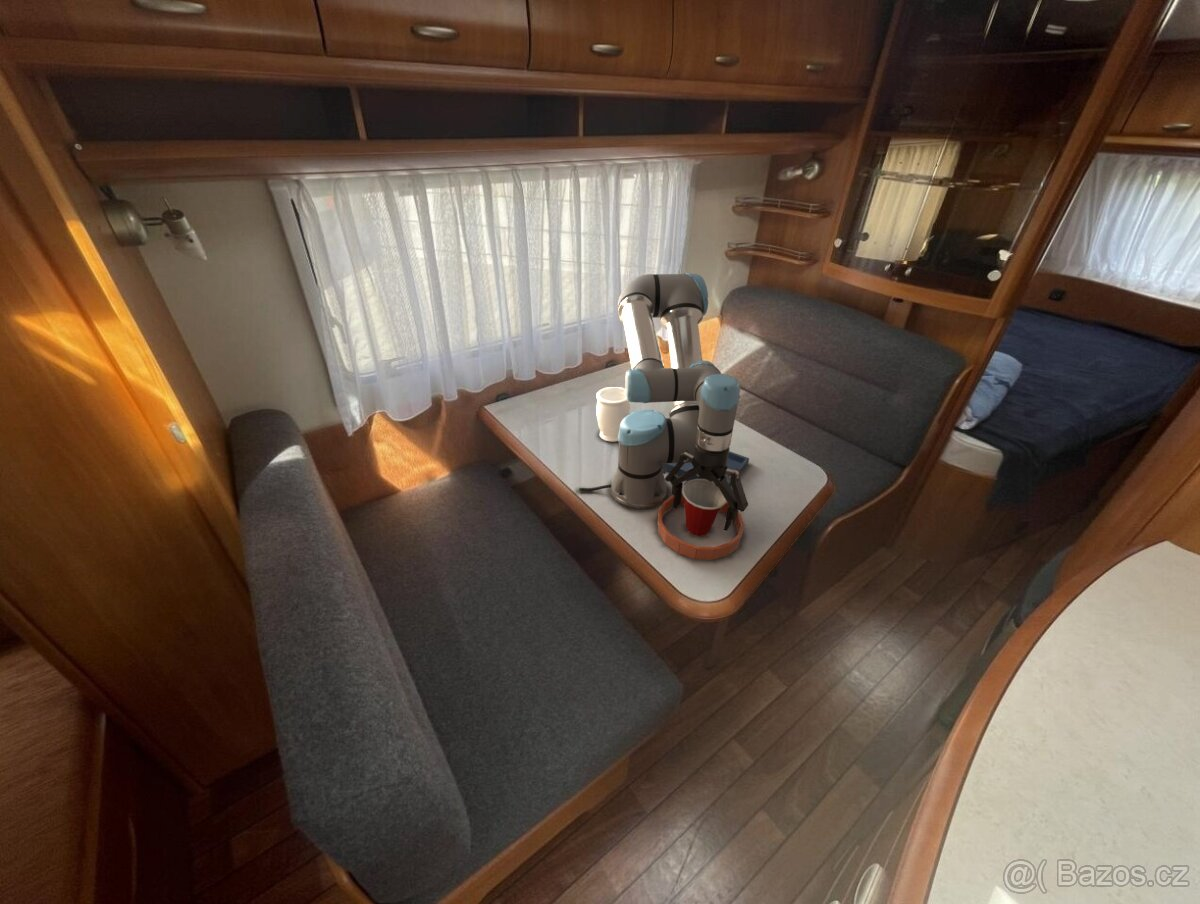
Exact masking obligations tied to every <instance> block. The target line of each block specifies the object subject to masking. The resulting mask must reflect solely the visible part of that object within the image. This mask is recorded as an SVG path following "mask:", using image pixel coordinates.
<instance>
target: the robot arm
mask: <svg viewBox="0 0 1200 904" xmlns="http://www.w3.org/2000/svg"><path fill="white" fill-rule="evenodd" d="M708 291H709V290H708V287H707V283H706V281H705V279H704V277H703V276H702V275H700V274H698V273H690V272H684V273H656V274H655V273H647V274H643V275H640V276H638V277H635V278H634V279H632V280H631V281H630V282H629V283H627V285H626V286H625V287H624V289H623V290H622V292H620V295H619V297H618V301H617V315H618V318H619V321H620V322H621V323H622V324H623V327H624V328H623V329H624V332H625V339H626V345H627V351H628V356H629V363H630V368H631V369H628V370H626V371H625V377H624V389H625V390H626V398H627V400H628V401H629V403H641V404H649V403H651V404H652V403H670V402H673V408H672V409H671V410H670V412H669V414H668V416H669V417H668V418H666V416H665V415H664V414H663V413H662V412H660V411H659V410H656V411H655V410H654V409H640V410H635V411H633V412H630V414H629V415H627V416H626V417H625V418H624V419H623V420H622V421H621V423H620V427H619V434H618V441H617V442H618V453H617V454H618V455H617V468H616V470H615V472H614V475H613V477H612V480H611V483H610V484H605V485H599V486H594V487H579V489H578V491H579V492H595V491H599V490H604V489H610V494H611V497H613V499H614V500H615V502H617V503H618V504H620V505H621V506H624V507H627V508H630V509H637V510H644V509H645V510H646V509H651V508H653V507H656V506H658V505H659V504H661V503H663V502H664V501H665V498H666V495H667V488H668V487H667V483H668V482H670V484H671V493H670V494H671V495H672V496H673V495H674V502H673V508H672V509H675V510H676V509H677V508H678V507H679V506H680V505H679V504H680V503H681V496H682V488H683V485H684V482H685V481H686V480H688V478H690V477H693V476H695V475H696V474H698V475H699V477H700V478H703V479H707V480H708V481H710V482H712V481H713V482H714V483H715V485H716V487H718V488H719V489H720V491H721V493H722V494H723V496H724V498H725V499H726V501H727V503H728V504H729V506H730V507H729V508H728V509H727V514H726V516H725V521H724V525H723V531H725V532H728V530H729V528H730V527H731V526H732V522H733V521H734V520H735V518H736V517H737V515H738V511H739V512H740V513H744V512H745V511H746V510H747V508H748V506H749V502H748V499H747V495H746V492H745V490H744V487H743V484H742V480H741V474H740V470H739V469H735V470H731V469H728V468H727V460H728V455H729V451H730V447H731V443H732V437H733V431H734V426H735V421H736V415H737V410H738V405H739V402H740V392H741V384H740V382H739V380H738V379H737V378H735V377H733V376H732V375H729V374H723V373H722V372H721V370H720V369H719V368H718V367H717V366H716V365H715V364H714V363H713V362H711V361H708V360H704V359H703V355H702V348H701V347H702V346H701V337H700V329H699V328H700V327H699V324H700V323H701V322H702V321H703V317H704V316H705V315H706V314H707V312H708V308H709V299H708V298H709V292H708ZM655 318H657V319H658V318H659V319H660V324H661V326H662V327H663V328H664V329H666V334H667V343H668V344H667V345H668V354H669V365H670V367H665V365H664V360H663V356H662V351H661V349H660V344H659V340H658V336H657V332H656V328H655V324H654V320H653V319H655ZM663 463H677V464H676V466H675V467H674V468H673V469H672V470H671V472H668V474H667V475H666V472H667V471H666V470H664V469H662V464H663ZM685 463H692V465H693V468H692V469H690V470H688V471H687V472H685V473H683V474H682V475H680V476H678V475H677V477H676V475H675V474H676V473H677V472H678V471H679V470H680V468H681V467H682V466H683V465H684V464H685ZM725 474H727V475H728V477H729V478H728V479H729V480H730V482H731V487H730V485H729V483H728V482H727V477H726V476H725ZM665 475H666V477H665ZM719 478H720V480H719ZM732 520H733V521H732Z"/></svg>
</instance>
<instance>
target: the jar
mask: <svg viewBox="0 0 1200 904" xmlns="http://www.w3.org/2000/svg"><path fill="white" fill-rule="evenodd" d="M595 397H596V400H597V402H596V409H595V410H596V412H595V413H596V419H597V426H598V429H599V437H600V438H601V439H602V440H603V441H606V442H612V443H614V442H619V441H618V434H619V427H620V423H621V421H622V420H623V419H624V418H625V417H626V416H627V415H629V414H630V413H631V406H630V402H629V401H628V400H627V398H626V390H625V387H621V386H620V387H619V386H608V387H603V388H601V389H599V390H598V391H597V392H596V396H595Z"/></svg>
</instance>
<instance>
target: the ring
mask: <svg viewBox="0 0 1200 904" xmlns="http://www.w3.org/2000/svg"><path fill="white" fill-rule="evenodd" d="M673 502H674V495H672V496H670V497H669V498H667V499H666V500H663V501H662V504H661V506H660V507H659V509H658V512H657V520H656V521H657V533H658V535H659V536H660V538H661V539H662V541H663V543H664V545H666V546H667V547H668V548H670V549H671V550H673V551H674V552H676V553H677V554H679V555H682V556H684V557H687V558H691V559H692V560H693V559H694V560H705V561H706V560H708V561H714V560H717V559H720V558H724V557H727V556H730V555H731V554H732V553H733V552H734V551H736V550H737V549H738V547H739V545H740V543H741V540H742V537H743V534H744V529H745V523H744V519H743V516H742V512H741V511H740V510H738V515H737V517H736V518H735V520H734V521H733V520H732V522H733V523H734V524H735V527H736V531H737V535H736V536H734V537H733V538H732V539H730V541H728V542H727V543H723V544H719V545H716V546H697V545H694V544H692V543H688V542H686V541H683V540H680V539H679V538H677V536H675V535H674V534H672V533H670V531H669V530H668V528H667V527H666V526H665V524H664V523H663V519H664V516H665V515H666V513H668V512H669V511H670V510H672V509H674V508H673ZM682 505H684V497H683V493H682V496H681V503H680V504H679V506H682ZM729 507H730V506H729V504H728V503H727V501H726V504H724V505H723V506H722V507H721V509H720V510H719V512H722V513H723V514H726V515H727V509H728V508H729Z"/></svg>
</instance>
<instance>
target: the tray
mask: <svg viewBox="0 0 1200 904" xmlns="http://www.w3.org/2000/svg"><path fill="white" fill-rule="evenodd" d="M749 461H750V458H749V457H747V456H745V455H741V454H738V453H736V452H733V451H730V450H729V455H728V460H727V468H728V469H731V470H735V469H739V470H740V475H741V474H742V473H743V472H744V471H745V469H746V468H747V467H748V466H749ZM676 464H677V463H663V464H662V469H664V470H666V471H665V472H668V473H670V472H671V470H672V469H673V468H674V467H675V466H676ZM692 468H693V465H692V463H685V464H684V465H683V466H682V467H681V468H680V470H679V471H678V472H677V473H676V474H675V476H677V477H678V476H680V475H682V474H683V473H685V472H687V471H688V470H690V469H692ZM725 476H726V477H727V482H728V483H729V485H730V487H731V488H732V486H731V482H730V480H729V479H728V478H729V477H728V475H727V474H725ZM693 479H703V478H700V477H699V475H698V474H696V475H695V476H693V477H690V478H688V479H687V480H688V481H689V480H693ZM706 480H707V479H706ZM719 480H720V478H719ZM712 482H713V481H712Z"/></svg>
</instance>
